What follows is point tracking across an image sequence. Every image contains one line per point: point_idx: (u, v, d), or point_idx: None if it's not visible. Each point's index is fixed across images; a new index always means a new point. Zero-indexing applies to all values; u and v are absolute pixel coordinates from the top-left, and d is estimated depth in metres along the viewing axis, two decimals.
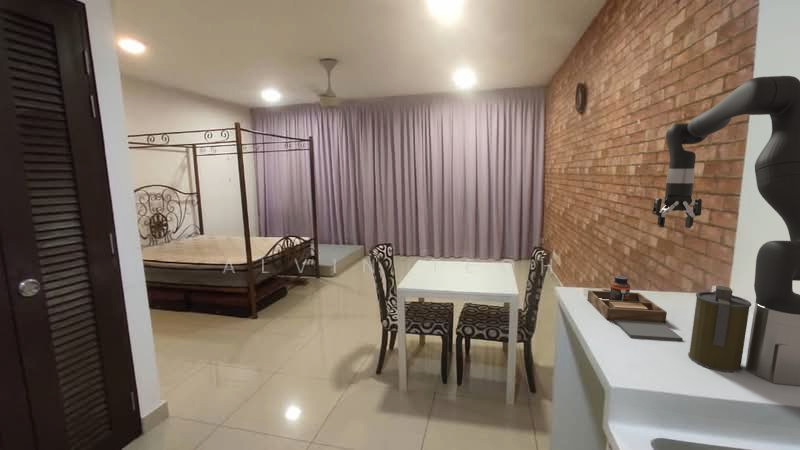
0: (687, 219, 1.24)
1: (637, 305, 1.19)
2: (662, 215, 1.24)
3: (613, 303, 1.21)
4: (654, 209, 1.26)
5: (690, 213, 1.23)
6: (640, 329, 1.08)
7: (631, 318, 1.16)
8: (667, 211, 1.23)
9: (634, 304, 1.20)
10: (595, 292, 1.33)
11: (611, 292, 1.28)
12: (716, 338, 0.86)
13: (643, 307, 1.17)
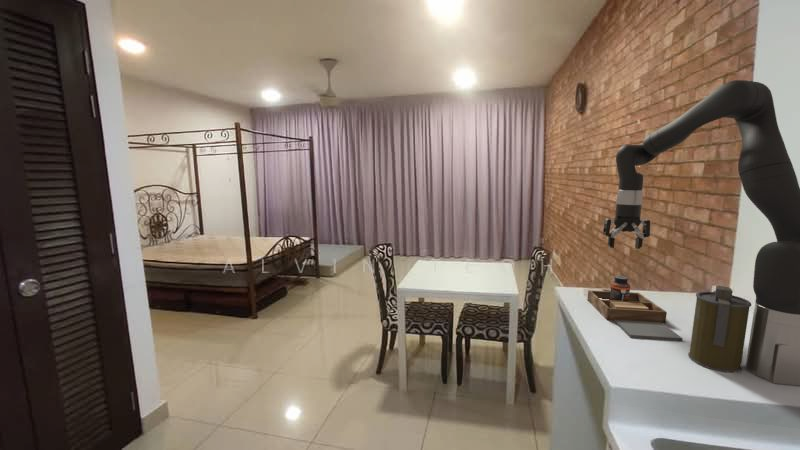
0: (637, 240, 1.24)
1: (638, 304, 1.19)
2: (611, 236, 1.24)
3: (614, 303, 1.21)
4: (604, 229, 1.26)
5: (639, 234, 1.22)
6: (640, 329, 1.08)
7: (631, 318, 1.16)
8: (616, 232, 1.23)
9: (635, 304, 1.20)
10: (595, 292, 1.33)
11: (611, 292, 1.28)
12: (716, 338, 0.86)
13: (644, 307, 1.17)
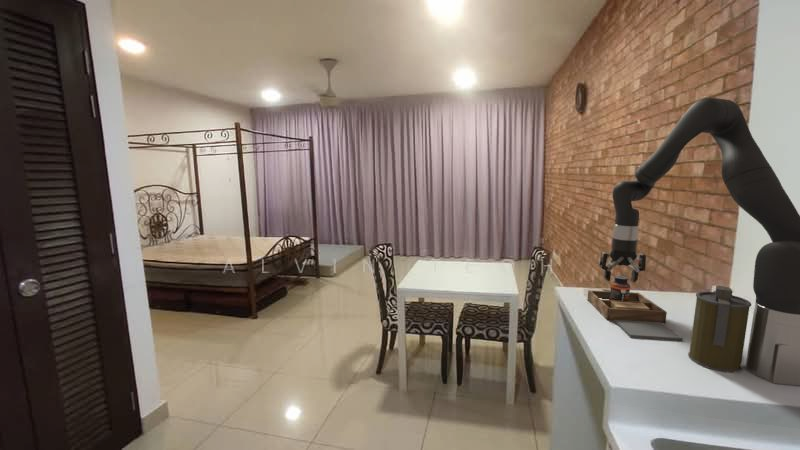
0: (632, 274, 1.26)
1: (639, 305, 1.19)
2: (608, 269, 1.26)
3: (614, 303, 1.21)
4: (601, 262, 1.28)
5: (635, 268, 1.24)
6: (640, 329, 1.08)
7: (631, 318, 1.16)
8: (612, 266, 1.25)
9: (636, 304, 1.20)
10: (595, 292, 1.33)
11: (611, 292, 1.28)
12: (716, 338, 0.86)
13: (645, 307, 1.17)
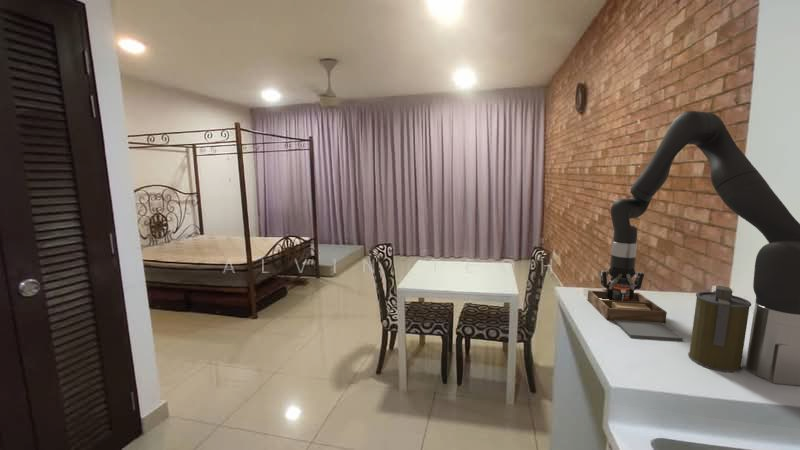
0: None
1: (640, 305, 1.19)
2: (610, 288, 1.27)
3: (615, 303, 1.21)
4: (602, 281, 1.29)
5: (631, 286, 1.25)
6: (640, 329, 1.08)
7: (631, 318, 1.16)
8: (613, 283, 1.26)
9: (637, 305, 1.19)
10: (595, 292, 1.33)
11: None
12: (716, 338, 0.86)
13: (646, 308, 1.17)
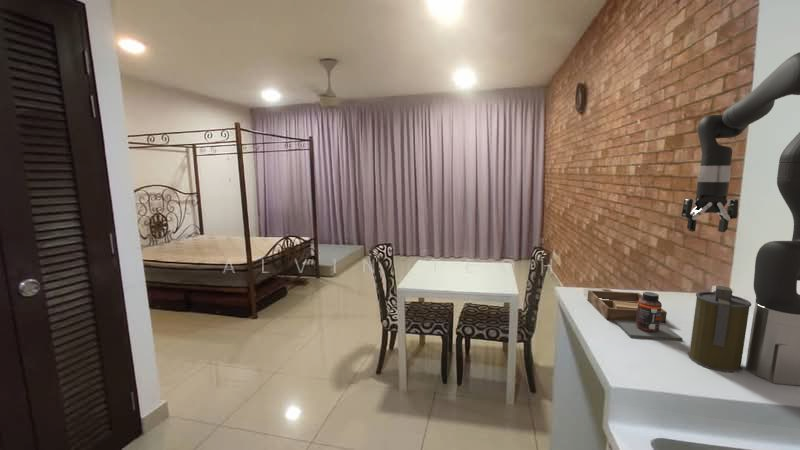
0: (721, 223, 1.11)
1: None
2: (693, 218, 1.11)
3: (616, 302, 1.21)
4: (683, 211, 1.13)
5: (725, 215, 1.09)
6: (640, 329, 1.08)
7: (631, 318, 1.16)
8: (699, 213, 1.10)
9: None
10: (595, 292, 1.33)
11: (639, 311, 1.08)
12: (716, 338, 0.86)
13: None
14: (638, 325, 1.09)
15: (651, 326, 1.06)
